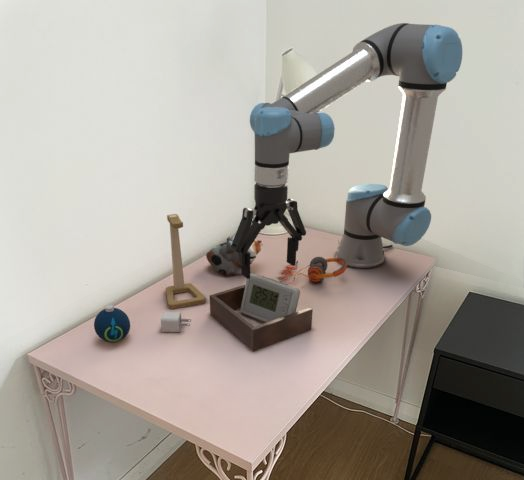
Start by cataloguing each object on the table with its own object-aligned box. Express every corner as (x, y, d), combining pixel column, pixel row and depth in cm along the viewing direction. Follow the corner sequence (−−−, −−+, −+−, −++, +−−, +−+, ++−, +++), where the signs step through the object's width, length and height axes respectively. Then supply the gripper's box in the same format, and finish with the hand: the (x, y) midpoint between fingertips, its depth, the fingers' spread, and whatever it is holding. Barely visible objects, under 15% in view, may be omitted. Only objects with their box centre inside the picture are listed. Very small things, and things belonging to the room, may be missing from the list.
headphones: (277, 294, 157) (345, 286, 152) (273, 277, 155) (342, 269, 149) (286, 270, 171) (349, 262, 165) (283, 254, 168) (347, 246, 163)
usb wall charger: (165, 324, 138) (163, 311, 136) (192, 325, 138) (191, 311, 136) (162, 332, 135) (160, 319, 133) (189, 333, 135) (188, 319, 132)
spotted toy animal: (237, 254, 174) (257, 221, 165) (254, 281, 169) (275, 248, 160) (198, 253, 164) (217, 217, 155) (215, 281, 159) (235, 246, 150)
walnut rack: (265, 297, 150) (265, 278, 147) (311, 329, 136) (312, 309, 133) (210, 315, 142) (209, 295, 139) (253, 351, 128) (253, 330, 125)
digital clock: (237, 312, 143) (236, 276, 137) (262, 302, 148) (262, 266, 142) (279, 337, 133) (280, 299, 127) (304, 325, 138) (306, 288, 132)
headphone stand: (169, 309, 144) (161, 231, 132) (160, 291, 153) (152, 216, 140) (207, 303, 147) (202, 226, 135) (196, 285, 156) (191, 211, 144)
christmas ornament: (92, 348, 129) (84, 312, 123) (103, 329, 136) (96, 294, 130) (126, 350, 128) (121, 313, 123) (136, 331, 135) (131, 296, 130)
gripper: (232, 197, 112) (233, 288, 124) (324, 179, 124) (317, 263, 136) (214, 187, 117) (217, 276, 129) (304, 171, 129) (299, 253, 141)
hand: (268, 270), depth 133 cm, fingers open, 13 cm apart
